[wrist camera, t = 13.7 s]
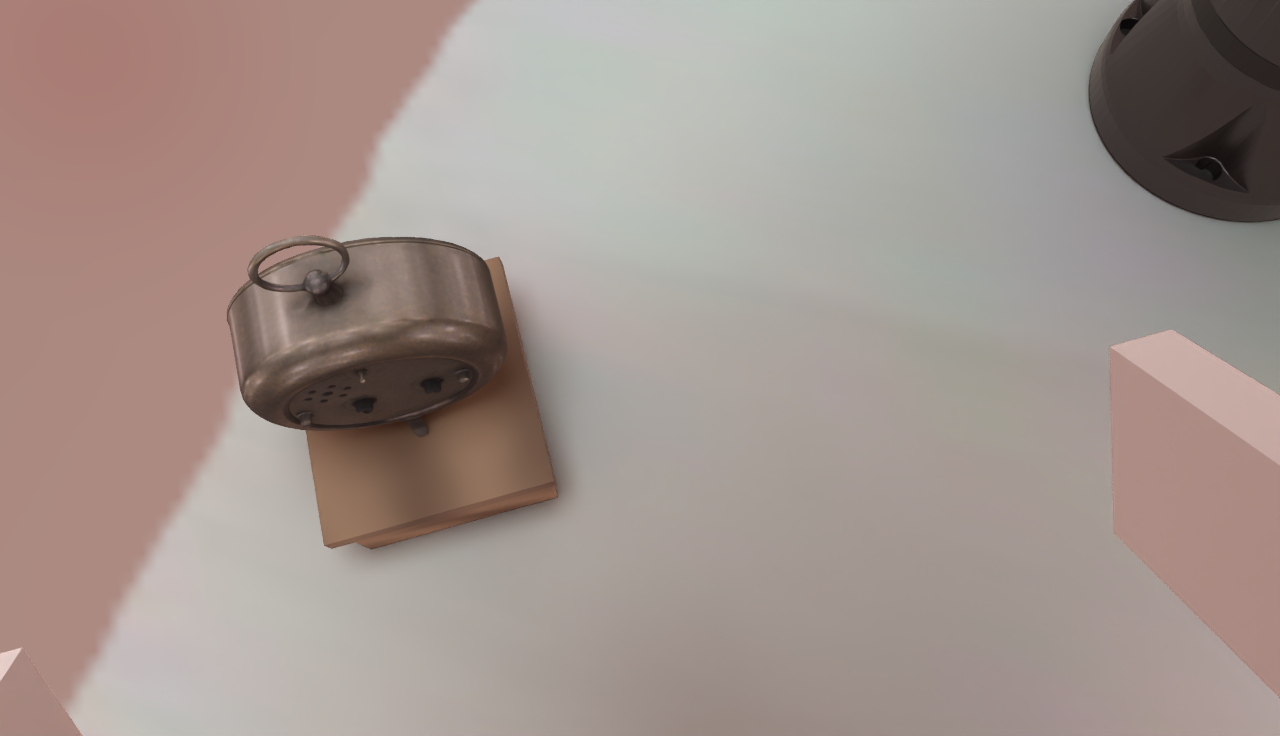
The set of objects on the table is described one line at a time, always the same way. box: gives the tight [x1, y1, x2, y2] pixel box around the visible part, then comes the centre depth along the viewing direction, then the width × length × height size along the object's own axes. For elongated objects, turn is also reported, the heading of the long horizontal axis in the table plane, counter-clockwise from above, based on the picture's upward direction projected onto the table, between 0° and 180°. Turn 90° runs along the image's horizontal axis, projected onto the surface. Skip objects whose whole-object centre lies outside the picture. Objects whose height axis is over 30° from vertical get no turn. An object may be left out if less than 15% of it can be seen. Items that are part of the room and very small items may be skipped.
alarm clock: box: [227, 235, 508, 437], centre depth 39 cm, size 11×5×16 cm, turn 105°
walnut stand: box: [306, 257, 558, 549], centre depth 50 cm, size 11×12×5 cm
